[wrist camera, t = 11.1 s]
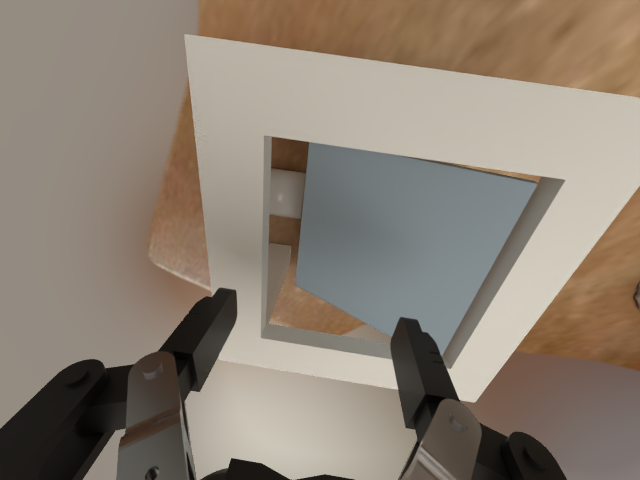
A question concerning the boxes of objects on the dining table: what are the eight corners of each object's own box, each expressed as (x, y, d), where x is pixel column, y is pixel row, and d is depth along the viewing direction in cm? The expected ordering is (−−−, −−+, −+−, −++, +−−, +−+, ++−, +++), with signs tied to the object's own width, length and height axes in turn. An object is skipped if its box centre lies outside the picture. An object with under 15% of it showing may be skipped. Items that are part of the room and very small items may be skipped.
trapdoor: (316, 137, 19) (309, 137, 18) (534, 181, 13) (537, 183, 12) (300, 280, 25) (295, 285, 25) (440, 353, 19) (438, 362, 19)
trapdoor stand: (276, 80, 25) (184, 33, 10) (491, 111, 24) (700, 106, 10) (269, 260, 35) (218, 359, 21) (420, 284, 34) (474, 402, 20)
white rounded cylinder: (309, 168, 28) (259, 161, 29) (302, 179, 24) (242, 170, 24) (305, 209, 31) (259, 203, 31) (298, 226, 26) (244, 218, 26)
